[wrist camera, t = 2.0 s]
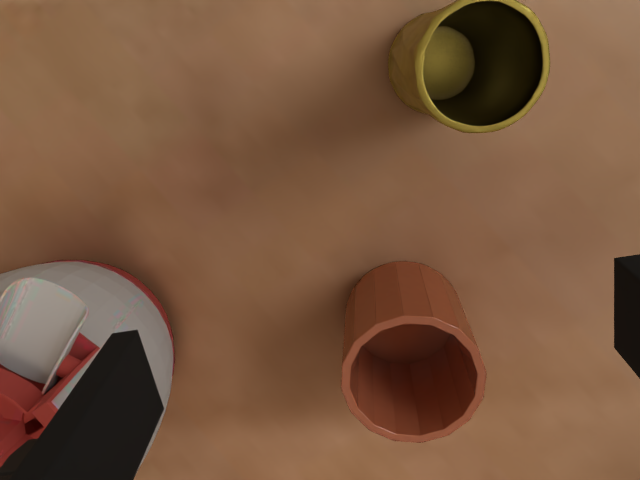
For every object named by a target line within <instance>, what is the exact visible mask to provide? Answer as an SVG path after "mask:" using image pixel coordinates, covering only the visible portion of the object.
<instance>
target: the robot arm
mask: <svg viewBox="0 0 640 480" xmlns="http://www.w3.org/2000/svg"><path fill="white" fill-rule="evenodd" d="M614 348H615V349H616V350H617V351H618V353H619V354H620V355H621V356H622V358H623V359H624V360H625V361H626V362H627V364H628V365H629V366H630V367H631V368H632V370H633V371H634V372H635V373H636V375H637V376H638V377H639V378H640V254H639V255H632V256H626V257H619V258H614ZM163 411H164V406H163V403H162V400H161V397H160V395H159V392H158V389H157V386H156V383H155V380H154V377H153V374H152V371H151V368H150V365H149V362H148V359H147V356H146V353H145V350H144V347H143V344H142V341H141V338H140V335H139V332H138V330H131V331H124V332H117V333H112V334H111V335H110V337H109V338H108V340H107V341H106V342H105V344H104V345H103V347H102V348H101V350H100V351H99V352H98V354H97V355H96V357H95V358H94V360H93V361H92V362H91V364H90V365H89V367H88V368H87V369H86V371H85V372H84V374H83V375H82V377H81V378H80V379H79V381H78V382H77V384H76V385H75V387H74V388H73V389H72V391H71V392H70V394H69V395H68V397H67V398H66V399H65V401H64V402H63V404H62V405H61V406H60V408H59V409H58V411H57V412H56V414H55V415H54V416H53V418H52V419H51V421H50V422H49V424H48V425H47V426H46V428H45V429H44V431H43V432H42V433H41V435H40V436H39V438H37V439H29V440H27V441H26V442H25V443H24V444H23V445H21V446H20V447H19V448H18V449H17V450H15V451H14V452H13V453H12V454H11V455H10V456H9V457H8V458H7V459H6V461H5V462H4V463H3V465H2V466H1V467H0V480H133V479H134V477H135V475H136V472H137V470H138V468H139V465H140V463H141V461H142V459H143V456H144V454H145V452H146V449H147V447H148V445H149V443H150V440H151V438H152V436H153V433H154V431H155V429H156V427H157V424H158V422H159V420H160V417H161V415H162V413H163Z"/></svg>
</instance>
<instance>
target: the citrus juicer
mask: <svg viewBox="0 0 640 480" xmlns="http://www.w3.org/2000/svg"><path fill="white" fill-rule="evenodd" d="M131 330H138V332H139V335H140V338H141V341H142V344H143V347H144V350H145V353H146V356H147V359H148V362H149V365H150V368H151V371H152V374H153V377H154V380H155V383H156V386H157V389H158V392H159V395H160V397H161V400H162V403H163V406H164V411H163V413H162V415H161V417H160V420H159V422H158V424H157V427H156V429H155V431H154V433H153V436H152V438H151V440H150V443H149V445H148V447H147V449H146V452H145V454H144V456H143V459H142V461H141V463H140V465H139V468H140V466H141V464H142V462H143V460H144V458H145V457H146V455H147V453H148V451H149V449H150V447H151V445H152V443H153V441H154V439H155V436H156V434H157V432H158V430H159V427H160V424H161V422H162V419H163V416H164V413H165V411H166V407H167V403H168V399H169V395H170V390H171V382H172V376H173V372H174V363H175V353H174V343H173V335H172V330H171V327H170V324H169V321H168V317H167V315H166V313H165V311H164V309H163V307H162V306H161V304H160V302H159V301H158V299H157V298H156V297H155V296H154V294H153V293H152V292H151V291H150V289H148V288H147V287H146V286H145V285H144V284H143V283H141V282H140V281H139V280H138V279H137V278H135V277H133V276H132V275H130V274H128V273H127V272H125V271H123V270H121V269H118V268H116V267H113V266H111V265H108V264H103V263H98V262H93V261H86V260H57V261H52V262H47V263H42V264H38V265H33V266H28V267H23V268H19V269H16V270H12V271H9V272H5V273H2V274H0V467H1V466H2V465H3V463H4V462H5V461H6V459H7V458H8V457H9V456H10V455H11V454H12V453H13V452H14V451H15V450H17V449H18V448H19V447H20V446H21V445H23V444H24V443H25V442H26V441H27V440H29V439H37V438H39V436H40V435H41V433H42V432H43V431H44V429H45V428H46V426H47V425H48V424H49V422H50V421H51V419H52V418H53V416H54V415H55V414H56V412H57V411H58V409H59V408H60V406H61V405H62V404H63V402H64V401H65V399H66V398H67V397H68V395H69V394H70V392H71V391H72V389H73V388H74V387H75V385H76V384H77V382H78V381H79V379H80V378H81V377H82V375H83V374H84V372H85V371H86V369H87V368H88V367H89V365H90V364H91V362H92V361H93V360H94V358H95V357H96V355H97V354H98V352H99V351H100V350H101V348H102V347H103V345H104V344H105V342H106V341H107V340H108V338H109V337H110V335H111V334H112V333H117V332H124V331H131ZM139 468H138V469H139ZM137 471H138V470H137ZM136 473H137V472H136Z"/></svg>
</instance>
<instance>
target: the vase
mask: <svg viewBox="0 0 640 480" xmlns="http://www.w3.org/2000/svg"><path fill="white" fill-rule="evenodd" d="M388 70H389V78H390V82H391V84H392V87H393V89H394V91H395V92H396V94H397V95H398V97H399V98H400V99H401V100H402V101H403V102H404V103H405V104H406V105H407V106H409V107H410V108H412V109H414V110H416V111H419V112H421V113H425V114H429V115H431V116H432V117H433V118H435V119H436V120H437V121H438V122H440V123H442V124H444V125H446V126H448V127H450V128H453V129H455V130H458V131H461V132H464V133H487V132H494V131H498V130H501V129H503V128H505V127H507V126H510V125H511V124H513V123H515V122H516V121H518V120H519V119H521V118H522V117H523V116H524V115H525V114H526V113H527V112H528V111H529V110H530V109H531V108H532V106H533V105H534V104H535V103H536V101H537V100H538V99H539V97H540V96H541V94H542V92H543V90H544V89H545V86H546V83H547V79H548V75H549V70H550V54H549V44H548V38H547V35H546V32H545V30H544V29H543V26H542V25H541V23H540V21H539V19H538V18H537V16H536V15H535V13H534V12H533V11H532V10H531V9H529V8H528V7H527V6H525V5H524V4H522V3H520V2H518V1H516V0H456V1H455V2H453V3H451V4H449V5H448V6H446V7H444V8H442V9H440V10H438V11H435V12H430V13H425V14H421V15H420V16H418V17H416V18H415V19H413V20H412V21H410V22H409V23H408V24H406V25H405V26H404V27H403V28H402V29H401V31H400V32H399V33H398V35H397V36H396V38H395V40H394V42H393V44H392V46H391V49H390V52H389V59H388Z"/></svg>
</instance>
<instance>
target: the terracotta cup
mask: <svg viewBox="0 0 640 480" xmlns="http://www.w3.org/2000/svg"><path fill="white" fill-rule="evenodd" d="M485 382H486V369H485V366H484V363H483V360H482V357H481V354H480V352H479V349H478V346H477V344H476V341H475V339H474V336H473V334H472V331H471V329H470V326H469V324H468V321H467V319H466V316H465V314H464V311H463V308H462V306H461V303H460V301H459V298H458V296H457V293H456V291H455V290H454V289H453V287H452V285H451V284H450V283H449V282H448V280H447V279H446V278H445V277H444V276H442V275H441V274H440V273H439V272H437V271H436V270H434V269H432V268H430V267H428V266H426V265H423V264H419V263H415V262H407V261H402V262H392V263H388V264H384V265H382V266H379V267H377V268H375V269H373V270H371V271H370V272H368V273H367V274H366V275H364V276H363V277H362V278H361V279H360V280H359V281H358V283H357V284H356V285H355V287H354V288H353V290H352V292H351V294H350V296H349V299H348V302H347V305H346V316H345V330H344V345H343V359H342V379H341V390H342V392H343V395H344V397H345V400H346V402H347V404H348V407H349V409H350V411H351V413H352V414H353V415H354V416H355V417H356V418H357V419H358V420H359V421H360V422H361V423H362V424H363V425H364V426H365V427H367V428H368V429H369V430H370V431H372V432H374V433H377V434H379V435H381V436H384V437H386V438H389V439H391V440H393V441H402V442H417V443H421V442H426V441H430V440H433V439H437V438H441V437H444V436H447V435H450V434H451V433H452V432H454V431H455V430H457V429H458V428H459V427H461V426H462V425H464V424H465V423H466V422H468V421H469V420H470V419H471V417H472V416H473V414H474V412H475V411H476V409H477V408H478V406H479V404H480V403H481V401H482V400H483V397H484V390H485Z"/></svg>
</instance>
